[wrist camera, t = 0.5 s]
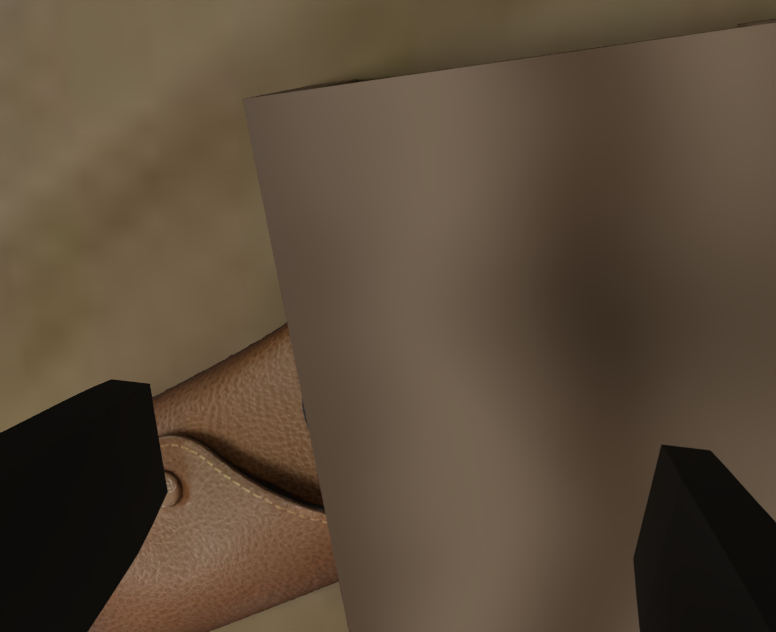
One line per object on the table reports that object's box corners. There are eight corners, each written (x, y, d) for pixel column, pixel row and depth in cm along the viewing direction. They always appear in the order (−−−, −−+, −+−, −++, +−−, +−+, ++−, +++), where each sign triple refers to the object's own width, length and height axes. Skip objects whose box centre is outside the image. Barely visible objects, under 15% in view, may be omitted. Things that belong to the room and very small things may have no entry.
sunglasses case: (377, 243, 20) (420, 437, 15) (480, 360, 25) (535, 534, 20) (-37, 478, 25) (-96, 675, 21) (114, 538, 30) (93, 708, 25)
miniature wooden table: (417, 748, 27) (403, 902, 22) (305, 86, 19) (242, 98, 14) (742, 755, 25) (806, 926, 20) (781, 17, 17) (906, 4, 12)
